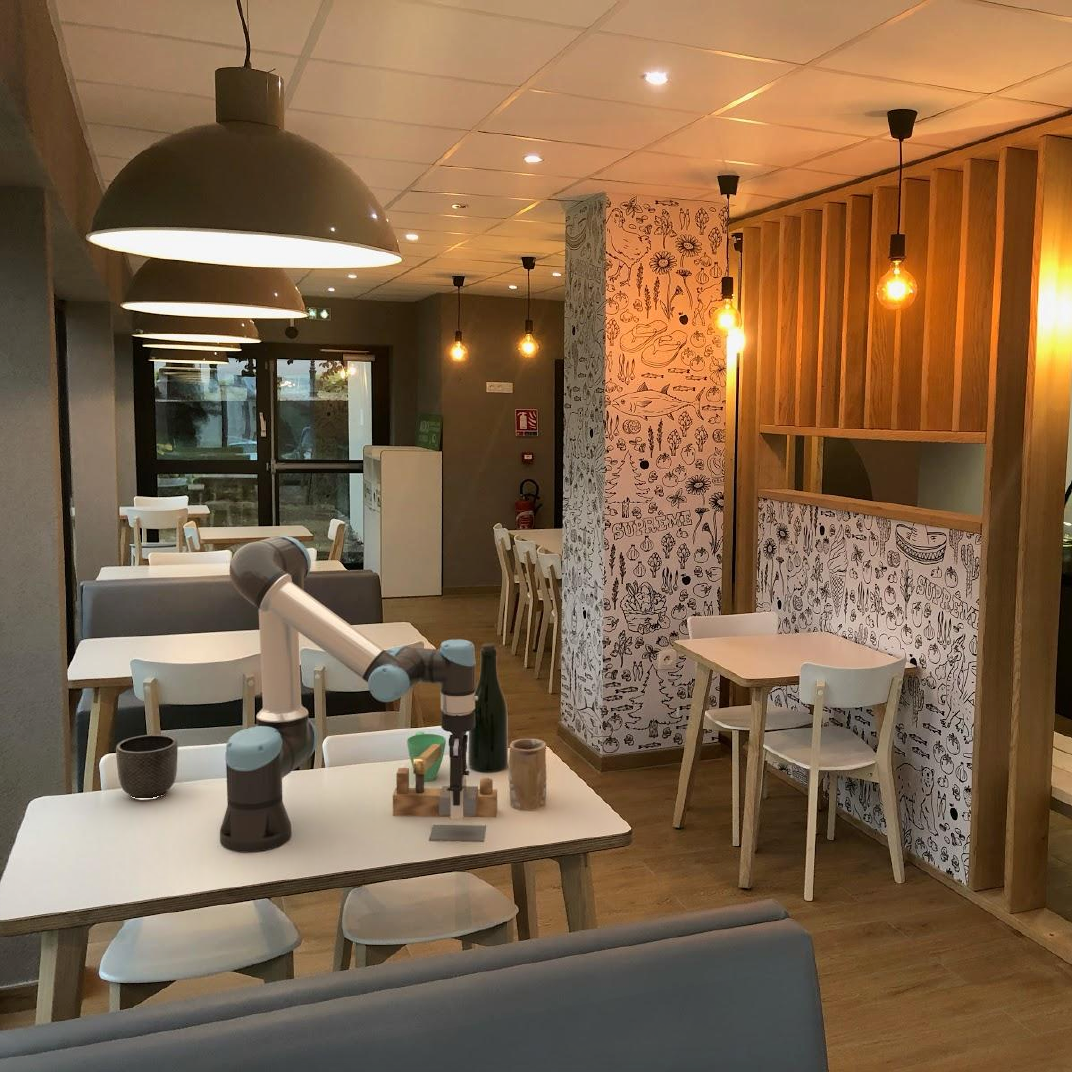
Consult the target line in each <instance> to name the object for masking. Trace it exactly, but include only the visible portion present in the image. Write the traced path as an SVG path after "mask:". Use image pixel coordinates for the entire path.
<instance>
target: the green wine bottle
mask: <svg viewBox="0 0 1072 1072" xmlns="http://www.w3.org/2000/svg"><path fill="white" fill-rule="evenodd" d="M479 655H480V665H479V666H480V667H479V668H480V669H479V676H478V677H479V678H478V682H477V684H476V686H475V695H474V696H477V697H478V700H476V701H475V709H474V710H473V711H474V712H475V728H474V729H473V730H471V731H468V743H467V751H468V752H467V753H468V758H467V759H468V761H467V762H468V763H467V764H468V766H469V767H470V768H471V769H472V770H475V771H478V772H487V773H489V772H490V773H491V772H497V771H501V770H503V769H506V768H507V766H508V765H509V739H508V737H509V734H508V733H509V732H508V731H509V727H508V722H509V721H508V719H509V718H508V705H507V701H506V698H505V695H504V692H503V690H502V687H501V685H500V682H499V681H500V680H499V676H498V675H499V674H498V659H497V658H498V649H497V648H496V644H495V643H490V642H489V643H488V642H487V643H483V644H482V648H481V649H480V654H479Z"/></svg>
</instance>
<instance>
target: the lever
mask: <svg viewBox="0 0 1072 1072" xmlns="http://www.w3.org/2000/svg"><path fill="white" fill-rule="evenodd" d="M440 757H441V745H440V744H432V745H431V746H430V747H429V748H428V749H427V750H426V751H425V752H424V753H423V754H422V755H420V756H419V757H416V758H414V759H413V766H412V772H413V774H414V775H416V774H418V775H420V774H425V773H426V771H427V770H428V769H429V768H430V767H431V766H432V765H433V764H434V763H435V762H436V761H437V760H438V759H439V758H440Z"/></svg>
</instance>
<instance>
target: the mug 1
mask: <svg viewBox="0 0 1072 1072" xmlns="http://www.w3.org/2000/svg"><path fill="white" fill-rule="evenodd" d="M446 741H447V740H446V737H444V736H443V735H441V734H434V733H425V732H424V731H418V732H416V733H415V735H411V736H410V737H408V738H407V739H406V742H407V743H406V744H407V749H408V756H409V759H410V762H411V765H412V767H413V759H414V758H416V757H419V756H420V755H422V754H423V753H424V752H425V751H426V750H427V749H428V748H429V747H430V746H431V745H432V744H440V745H441V757H440V758H439V759H438V760H437V761H436V762H435V763H434V764H433V765H432V766H431V767H430V768H429V769H428V770H427V771H426V773H425V774H424V782H429V781H430V782H431V781H433V780H436V778H437V776H438V773H439V771H440V769H441V765H442V762H443V759H444V755H445V748H446V743H447V742H446Z"/></svg>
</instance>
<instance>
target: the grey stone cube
mask: <svg viewBox="0 0 1072 1072" xmlns="http://www.w3.org/2000/svg"><path fill="white" fill-rule="evenodd" d="M449 787H450V785H442V786H441V788H442V789H441V792H440V796H439V815H451V792H450V791H447V788H449ZM462 787H463V816H476V811H477V806H478V789H479V786H478V785H477V786H476V785H474V786H473V785H469V786H467V785H466V786H462Z"/></svg>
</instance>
